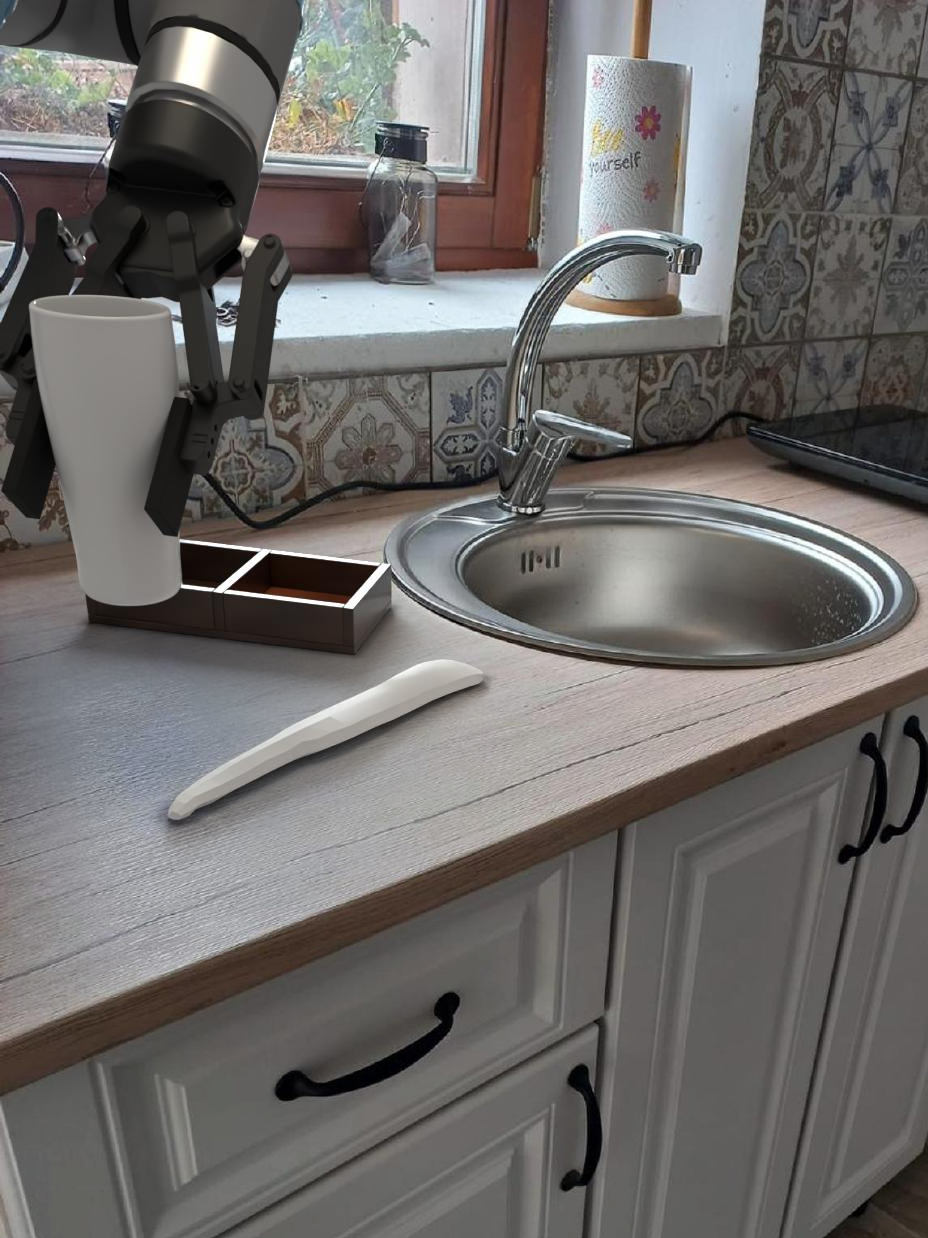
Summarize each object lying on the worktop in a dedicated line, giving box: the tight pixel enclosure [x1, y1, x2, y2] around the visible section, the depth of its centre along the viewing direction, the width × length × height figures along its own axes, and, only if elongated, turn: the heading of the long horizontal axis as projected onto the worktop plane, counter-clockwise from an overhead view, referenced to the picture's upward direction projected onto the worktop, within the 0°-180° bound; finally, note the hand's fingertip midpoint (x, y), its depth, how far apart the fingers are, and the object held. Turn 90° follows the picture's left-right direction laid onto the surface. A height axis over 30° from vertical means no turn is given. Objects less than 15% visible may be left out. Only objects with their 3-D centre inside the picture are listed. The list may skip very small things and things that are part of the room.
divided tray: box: [84, 538, 393, 655], centre depth 96 cm, size 20×11×4 cm, turn 84°
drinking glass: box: [29, 294, 182, 606], centre depth 65 cm, size 7×7×15 cm
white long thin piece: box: [167, 658, 484, 821], centre depth 80 cm, size 28×4×2 cm, turn 149°
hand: (90, 513), depth 63 cm, fingers closed on drinking glass, 7 cm apart
